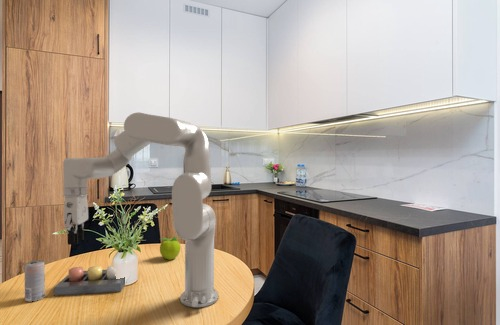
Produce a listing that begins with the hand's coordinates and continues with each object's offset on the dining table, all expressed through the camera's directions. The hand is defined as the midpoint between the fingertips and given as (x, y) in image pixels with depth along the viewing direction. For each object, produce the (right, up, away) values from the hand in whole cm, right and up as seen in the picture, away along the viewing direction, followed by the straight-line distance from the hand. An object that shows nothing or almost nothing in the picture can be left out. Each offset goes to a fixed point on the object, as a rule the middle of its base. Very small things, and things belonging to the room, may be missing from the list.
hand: (75, 241), depth 107 cm
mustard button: (+6, -14, +1) cm, 15 cm away
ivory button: (+13, -14, +2) cm, 19 cm away
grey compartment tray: (+6, -16, +1) cm, 18 cm away
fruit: (+26, -16, +30) cm, 43 cm away
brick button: (0, -14, 0) cm, 14 cm away
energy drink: (-8, -17, -9) cm, 21 cm away
